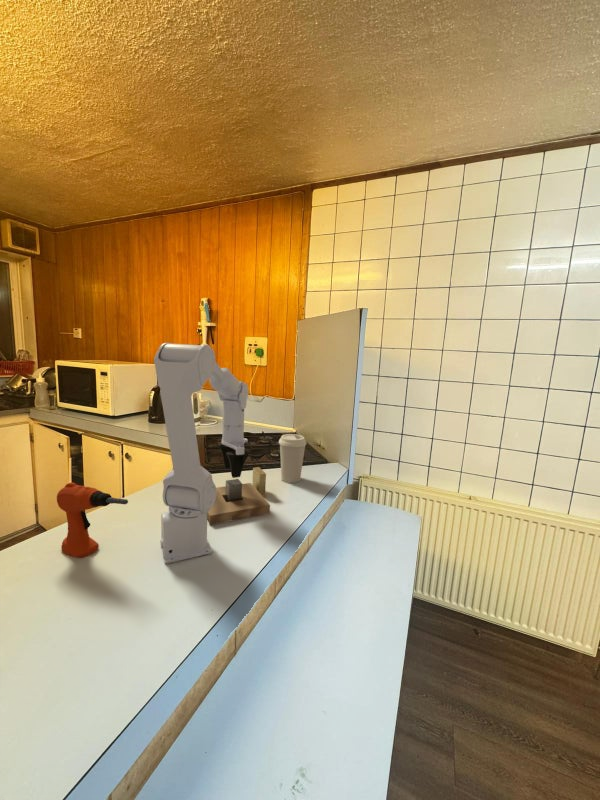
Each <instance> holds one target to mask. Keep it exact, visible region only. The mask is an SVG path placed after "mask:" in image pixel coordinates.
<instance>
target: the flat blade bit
mask: <svg viewBox="0 0 600 800" xmlns="http://www.w3.org/2000/svg"><path fill="white" fill-rule="evenodd" d="M266 478H267V473H266V472H265V471H264V470H263V469H261V467H260V466H257V467H253V468H252V482H251V484H252V485H253V486H254V487H255V488H256V490H257V491H258V492H259V493H260V494H261V495H262V496H263V497H264V496H266V487H267V486H266V484H267V483H266V482H267V481H266V480H267V479H266Z"/></svg>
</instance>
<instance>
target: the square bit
mask: <svg viewBox="0 0 600 800" xmlns="http://www.w3.org/2000/svg"><path fill="white" fill-rule="evenodd" d="M242 484H243V483H242V481H241V480H240V479H239V478H235V479H234V478H233V479H227V480H226V479H225V486H226V492H225V501H226V502H232V501H238V500H242Z"/></svg>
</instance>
